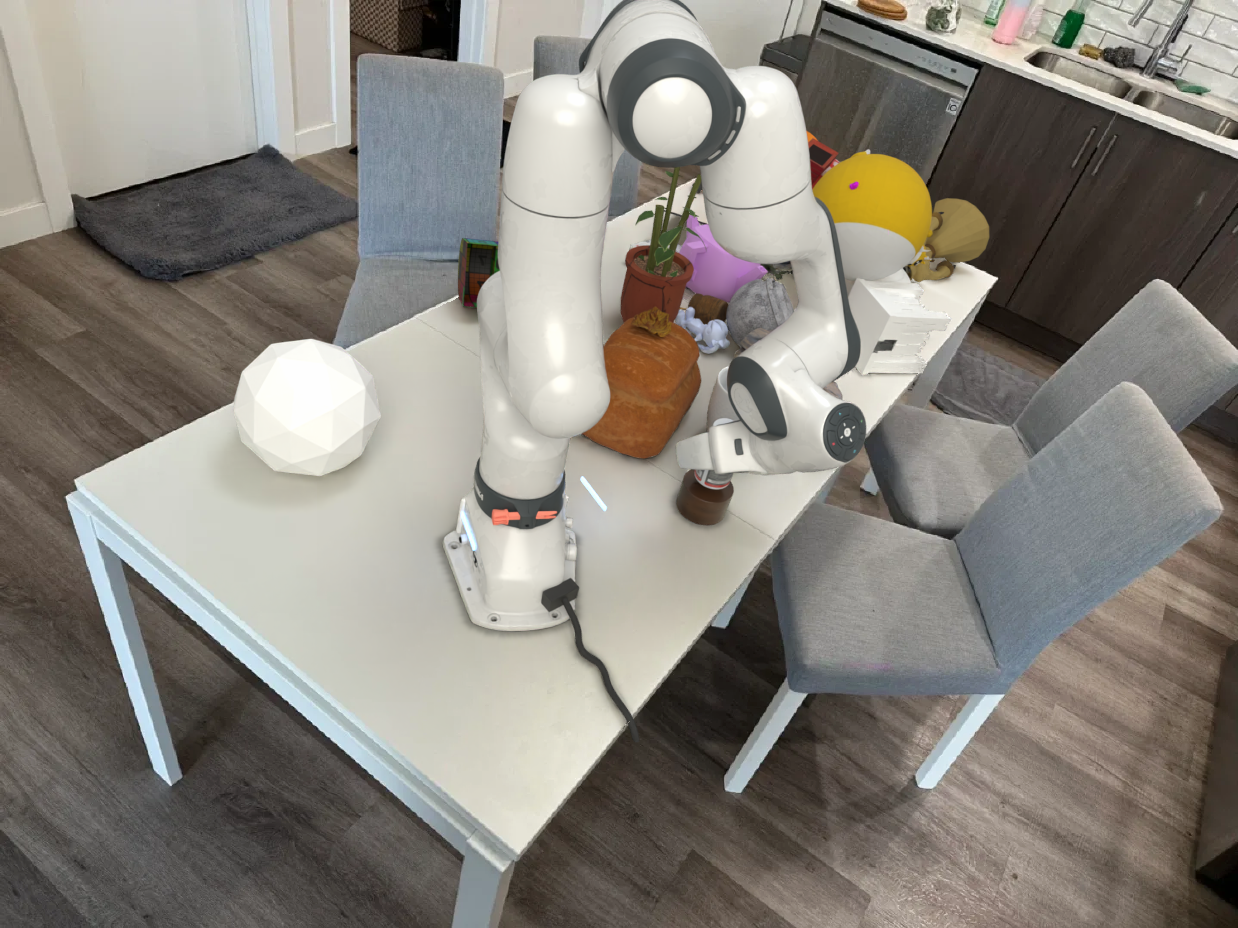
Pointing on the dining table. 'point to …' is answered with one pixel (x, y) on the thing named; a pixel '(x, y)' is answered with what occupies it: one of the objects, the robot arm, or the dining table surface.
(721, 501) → the walnut plinth
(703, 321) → the utensil holder
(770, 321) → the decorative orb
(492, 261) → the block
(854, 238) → the toy
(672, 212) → the mouse pad
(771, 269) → the zombie figurine
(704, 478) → the pill bottle
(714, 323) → the toy figurine
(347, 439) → the geometric sculpture
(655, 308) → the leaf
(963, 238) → the figurine
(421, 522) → the dining table surface
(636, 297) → the potted plant
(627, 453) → the bread
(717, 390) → the mug
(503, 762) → the dining table surface
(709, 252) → the teapot
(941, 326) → the white cube
